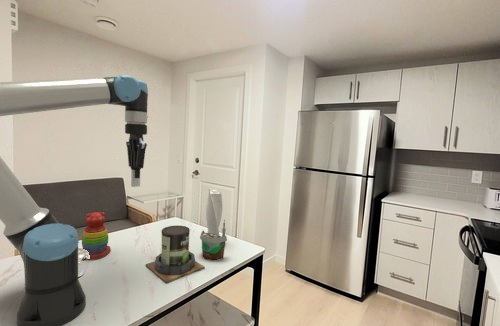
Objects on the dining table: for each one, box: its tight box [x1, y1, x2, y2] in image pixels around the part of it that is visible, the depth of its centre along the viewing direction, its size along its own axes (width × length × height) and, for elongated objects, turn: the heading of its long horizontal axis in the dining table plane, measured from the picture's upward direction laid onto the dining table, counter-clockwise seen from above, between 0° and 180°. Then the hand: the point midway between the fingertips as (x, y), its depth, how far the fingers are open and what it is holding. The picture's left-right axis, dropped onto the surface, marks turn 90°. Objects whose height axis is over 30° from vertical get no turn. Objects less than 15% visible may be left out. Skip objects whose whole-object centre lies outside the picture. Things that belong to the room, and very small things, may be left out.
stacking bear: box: [81, 211, 112, 261], centre depth 107 cm, size 11×10×18 cm
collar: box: [154, 251, 196, 275], centre depth 100 cm, size 14×14×3 cm
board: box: [144, 260, 206, 284], centre depth 101 cm, size 16×16×1 cm
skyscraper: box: [205, 187, 226, 237], centre depth 121 cm, size 8×8×28 cm
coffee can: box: [160, 225, 191, 266], centre depth 100 cm, size 10×10×14 cm
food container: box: [199, 230, 228, 262], centre depth 110 cm, size 12×6×10 cm, turn 65°
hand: (135, 186), depth 100 cm, fingers closed
